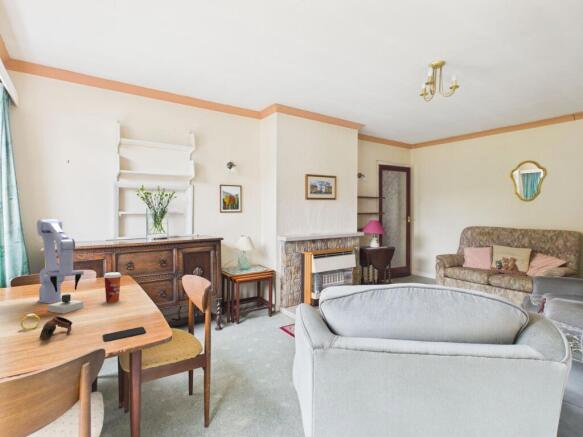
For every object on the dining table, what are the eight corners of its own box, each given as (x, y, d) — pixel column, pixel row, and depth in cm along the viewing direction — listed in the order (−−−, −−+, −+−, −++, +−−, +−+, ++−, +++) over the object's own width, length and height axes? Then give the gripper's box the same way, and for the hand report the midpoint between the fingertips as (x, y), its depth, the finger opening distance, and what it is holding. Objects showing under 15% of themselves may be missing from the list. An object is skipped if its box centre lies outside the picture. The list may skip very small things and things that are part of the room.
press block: (48, 311, 148) (48, 305, 148) (68, 304, 158) (68, 299, 158) (63, 313, 145) (63, 307, 145) (83, 307, 155) (83, 301, 155)
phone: (102, 334, 123) (142, 326, 132) (102, 336, 123) (142, 328, 132) (104, 341, 117) (146, 332, 126) (104, 343, 117) (146, 334, 126)
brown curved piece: (44, 333, 125) (57, 314, 127) (67, 342, 126) (79, 323, 128) (27, 337, 113) (42, 316, 116) (52, 348, 115) (66, 326, 117)
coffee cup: (113, 303, 161) (113, 275, 161) (100, 302, 163) (99, 274, 162) (124, 299, 169) (124, 272, 169) (112, 297, 171) (112, 271, 170)
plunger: (59, 309, 150) (59, 295, 150) (67, 307, 154) (67, 293, 154) (65, 310, 149) (65, 296, 149) (72, 308, 153) (72, 294, 153)
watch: (39, 326, 131) (40, 312, 131) (39, 328, 129) (40, 314, 129) (20, 328, 127) (22, 314, 127) (20, 330, 125) (21, 316, 125)
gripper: (46, 266, 143) (46, 294, 144) (83, 263, 151) (83, 290, 152) (47, 263, 149) (48, 290, 150) (83, 261, 157) (83, 287, 158)
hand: (66, 290), depth 151 cm, fingers open, 7 cm apart
